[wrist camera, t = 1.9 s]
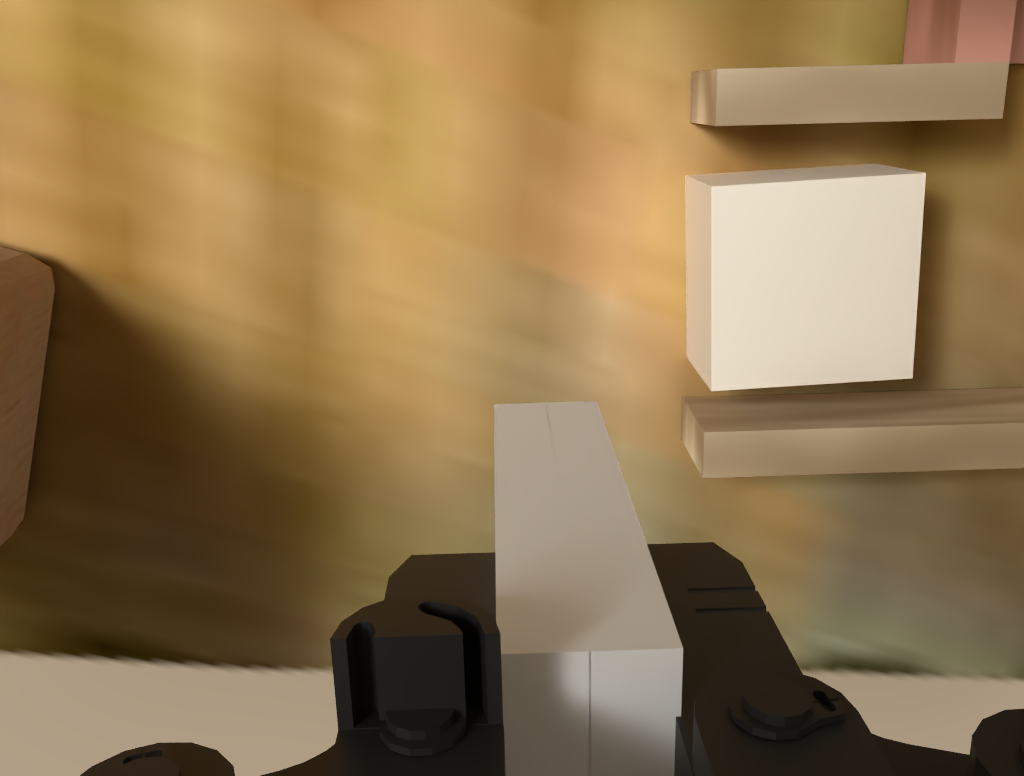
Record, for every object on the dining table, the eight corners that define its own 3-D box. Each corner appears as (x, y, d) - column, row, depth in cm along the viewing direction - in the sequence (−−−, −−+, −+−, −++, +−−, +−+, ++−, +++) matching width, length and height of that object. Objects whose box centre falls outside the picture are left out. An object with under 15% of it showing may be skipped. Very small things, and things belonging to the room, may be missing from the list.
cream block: (684, 174, 31) (711, 186, 27) (872, 162, 31) (926, 172, 27) (685, 356, 32) (711, 391, 29) (863, 344, 32) (912, 378, 29)
